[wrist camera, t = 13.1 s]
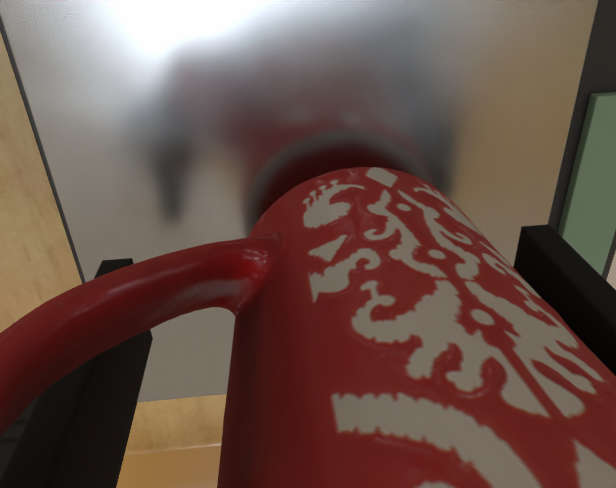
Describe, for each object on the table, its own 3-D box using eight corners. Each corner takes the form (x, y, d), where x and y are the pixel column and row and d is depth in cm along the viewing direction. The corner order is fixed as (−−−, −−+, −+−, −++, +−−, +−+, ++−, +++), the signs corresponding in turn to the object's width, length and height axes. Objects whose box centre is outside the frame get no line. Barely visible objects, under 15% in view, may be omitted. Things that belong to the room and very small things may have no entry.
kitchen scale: (657, -75, 17) (743, -77, 14) (554, 316, 25) (594, 367, 22) (15, -45, 15) (-40, -39, 13) (131, 355, 24) (114, 414, 21)
